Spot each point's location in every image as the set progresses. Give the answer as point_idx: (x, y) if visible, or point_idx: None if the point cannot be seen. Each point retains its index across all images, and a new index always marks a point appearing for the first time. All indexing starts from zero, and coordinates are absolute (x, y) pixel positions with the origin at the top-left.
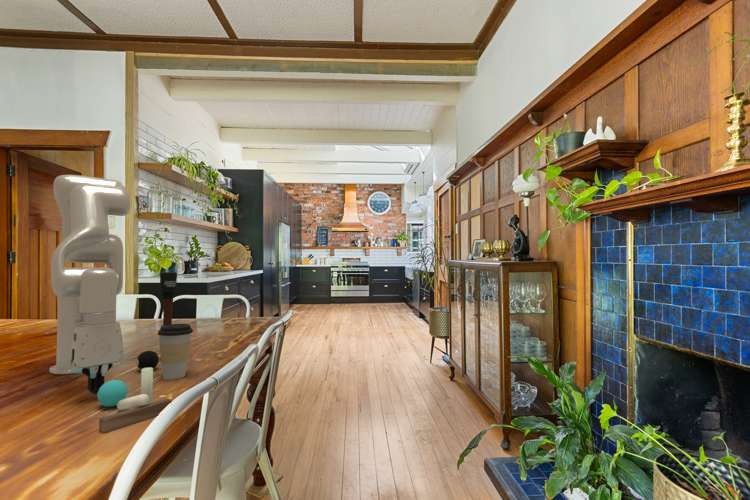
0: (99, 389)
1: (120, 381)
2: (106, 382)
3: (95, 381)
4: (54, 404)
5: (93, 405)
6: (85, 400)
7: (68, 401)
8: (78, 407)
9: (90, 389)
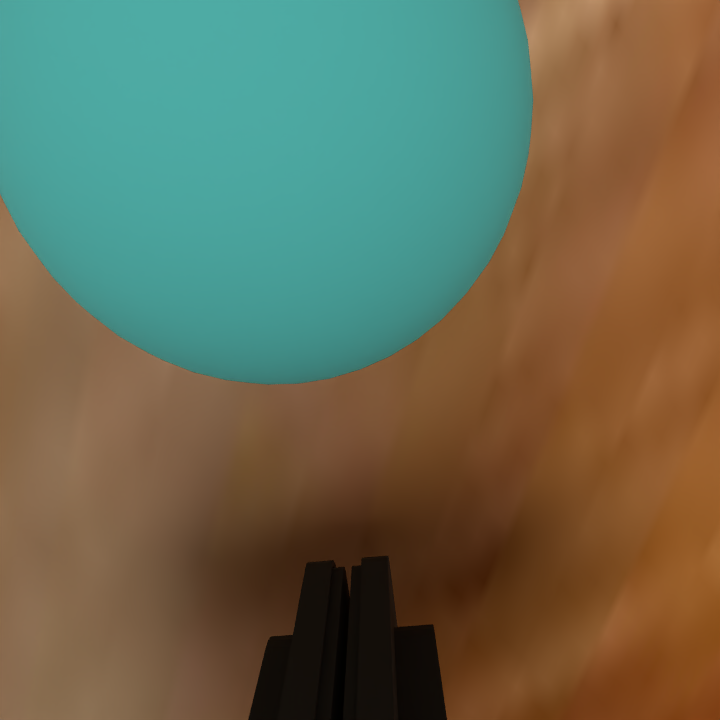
0: (515, 173)
1: (12, 2)
2: (369, 181)
3: (393, 706)
4: (671, 654)
5: (448, 360)
6: (447, 572)
7: (560, 649)
8: (574, 412)
9: (433, 633)
